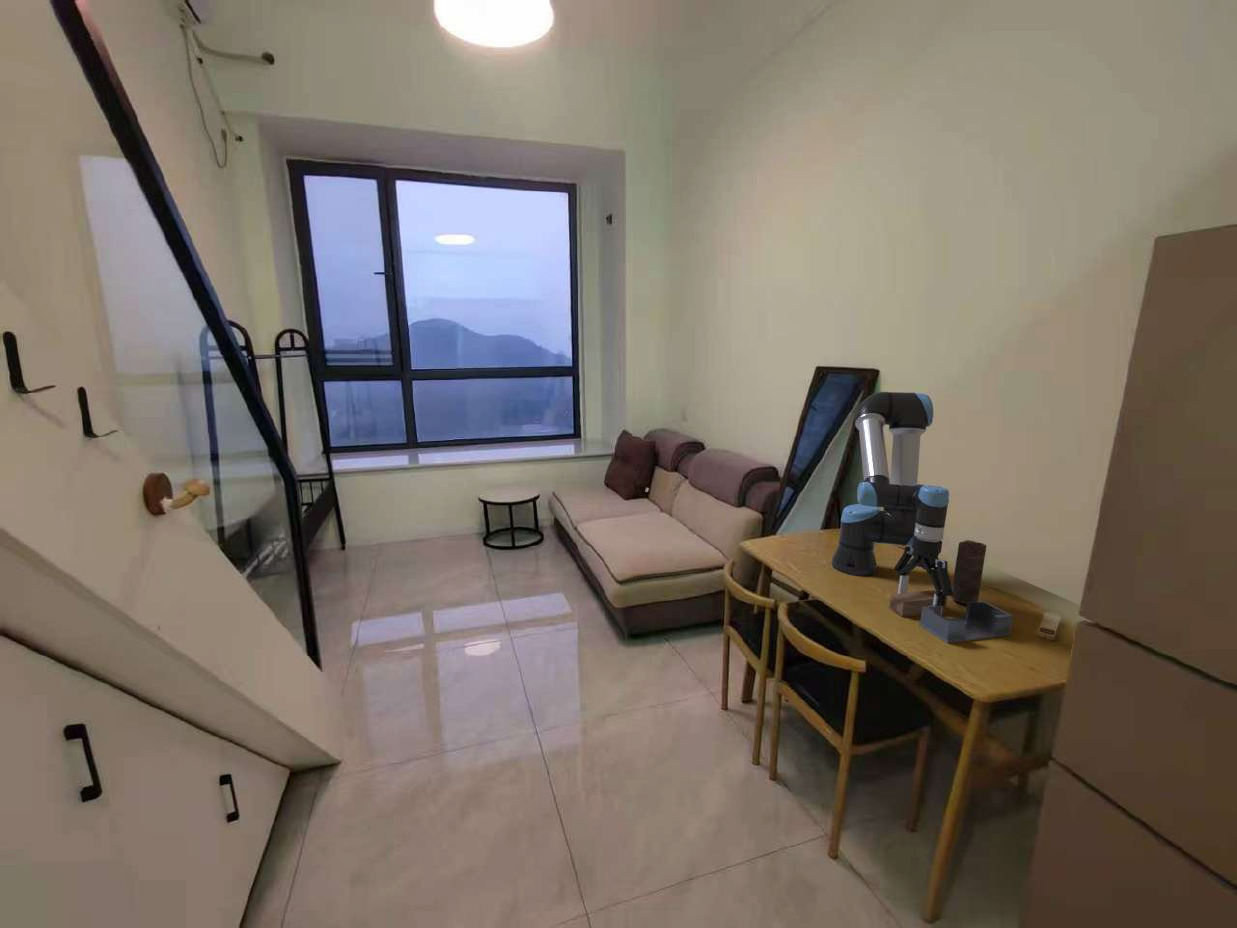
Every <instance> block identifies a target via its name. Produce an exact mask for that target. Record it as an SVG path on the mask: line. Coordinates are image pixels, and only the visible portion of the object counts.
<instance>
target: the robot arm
mask: <svg viewBox="0 0 1237 928" xmlns="http://www.w3.org/2000/svg"><path fill="white" fill-rule="evenodd" d="M933 419H934V405H933V401H932V398H931V397H930V396H929V395H927V394H926V393H920V392H899V391H898V392H895V391H892V392H891V391H879V392H875V393H872V394H870V395H869V396H867V397H866V398H865V399H864V400H863V401H862V402H861V403H860V404H859V406H858V408H857V409H856V412H855V417H854V422H855V423H854V424H855V427H856V429H857V430H858V434H859V443H860V445H859V446H860V454H861V464H862V476H863V481H861V482H859V484H858V486H857V496H856V498H857V502H858V503H856V504H855V503H854V504H851V505H847V506H845V507H844V508H843V510H842V514H841V518H840V530H839V539H838V545H837V547H836V549H835V552H834V553H833V556H832V558H831V562H830V564H831V566H832V567H833V568H834V569H835V570H837V571H839V572H842V573H844V574H845V573H846V574H847V575H848V574H849V575H853V576H872V575H874V574H876V573H877V570H878V569H877V568H878V565H877V560H876V555H875V551H874V550H875V548H874V547H875V544H884V545H885V544H886V545H892V546H893V545H895V546H903V547H904V551H903V554H902V555H901V556H900V558H899V560H898V562H896V564H895V566H894V571H897V574H898V581H897V583H898V589H897V594H903V593H908V587H909V579H910V575H909V574H910V572H912V571H913V570H914V569H915V568H917V567H919V568H922V569H923V570H925V572H926V574H928V575H929V577H930V579H931V582H932V584H933V588H934V590H935V591H936V592H937V594H934V600H933V605H940V606H942V607H943V606H944V605H945V598H946V597H951V596H952V595H953V591H952V584H951V579H950V576H949V571H948V561H947V560H941V559H940V558H939V555H940V554H941V553H942V547H943V541H942V540H944V534H945V525H946V521H947V513H948V505H949V502H950V491H949V490H948V489H947V488H946V487H942V486H938V485H925V484H921V483H918V479H919V477H918V476H919V464H920V463H919V462H920V450H921V449H920V448H921V436H922V435H923V434H924V433H926V431H927V428H928V427H931V425H932V423H933ZM885 425H887V426H888V431H889V432H890V433H891V434H892V448H891V461H890V462H891V463H890V472H889V464H888V456H887V449H886V442H885V441H886V440H885V434H884V427H885ZM889 473H890V474H889ZM880 508H883V510H880ZM942 607H941V613H940V615H942V613H943V612H942Z"/></svg>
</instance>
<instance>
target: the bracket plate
mask: <svg viewBox="0 0 1237 928" xmlns="http://www.w3.org/2000/svg"><path fill="white" fill-rule="evenodd" d="M941 607H942V606H940V605H930V606H923V607H922V614H921V615H920V621H919V623H918V625H919V627H921V628H923V629H925V630H926V631H928V632H929V633H931V634H933V635H934V636H935V637H936V638H939V639H940V640H941V641H943V642H944V643H946V644H950V643H951V644H952V643H960V642H970V641H978V640H986V639H987V640H988V639H993V638H996V639H997V638H1003V637H1010V636H1011V634H1012V633H1011V628H1012V623H1013V617H1014V616H1013V615H1012V614H1011V613H1009V612H1007V611H1005V610H1003V609H1001V608H999V607H997V606H995V605H993V604H991V603H989V602H987V601H985V600H984V599H983V600H978V601H971V602H967V604H966V607H965V615H964V616H961V617H955V618H954V617H952V618H947V617H946V616H943V615H942V613H941ZM940 613H941V615H940Z"/></svg>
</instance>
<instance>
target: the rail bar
mask: <svg viewBox="0 0 1237 928" xmlns="http://www.w3.org/2000/svg"><path fill="white" fill-rule="evenodd" d="M934 594H937V592H936V590H935V589H932V590H923V591H921V590H920V591H912V592H907V593H903V594H898V593H895V594H891V595H890V601H889V610H890V611H891V612H893V613H894V614H896V615H898V616H899V617H901V618H905V617H912V616H921V614H922V607H923V606H930V605H933V600H934ZM947 602H948V596H946V598H945V605H944V606H943V607H942V613H944V612H946V610H947V609H946V608H947Z"/></svg>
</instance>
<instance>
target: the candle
mask: <svg viewBox="0 0 1237 928" xmlns="http://www.w3.org/2000/svg"><path fill="white" fill-rule="evenodd" d="M986 553H987V544H985V543H982V542H979V541H978V542H977V541H974V540H969V539H968V540H966V539H965V540H964V541H960V542H959V543H958V548H957V554H956V559H955V566H954V573H953V579H952V584H951V587H952V591H953V595H952V596H950V598H951V599H953V600H954V601H956V602H958V603H961V604H965V605H967V602H971V601H979V597H980V593H981V592H980V591H981V583H982V577H983V571H984V564H985V557H986Z"/></svg>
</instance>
